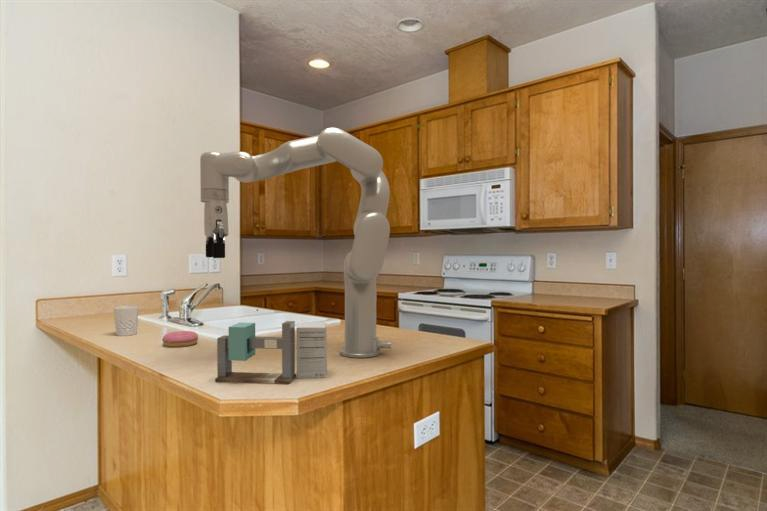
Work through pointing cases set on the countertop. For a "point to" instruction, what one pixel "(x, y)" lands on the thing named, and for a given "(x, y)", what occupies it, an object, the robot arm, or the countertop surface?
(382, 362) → the countertop surface
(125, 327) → the white cup
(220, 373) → the rail
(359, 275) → the robot arm
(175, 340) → the doughnut
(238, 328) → the teal sliding block
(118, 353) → the countertop surface
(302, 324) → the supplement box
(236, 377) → the board
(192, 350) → the countertop surface
